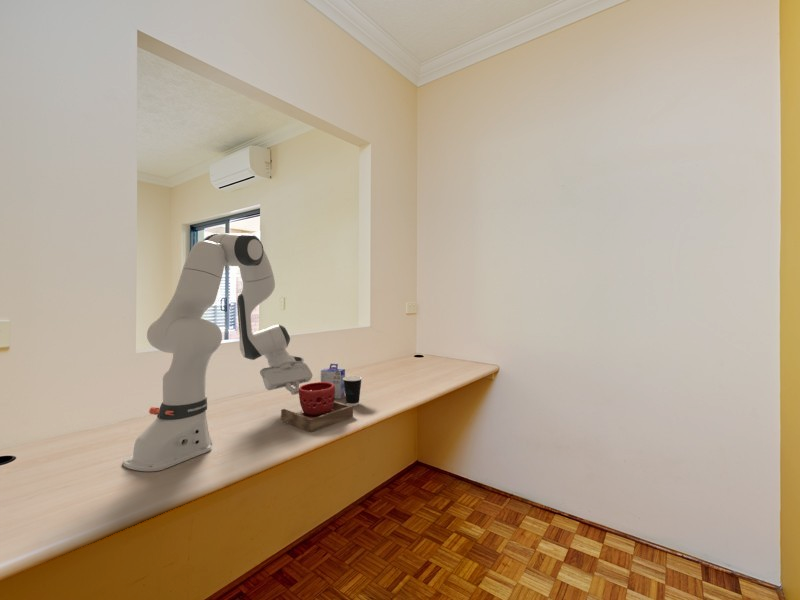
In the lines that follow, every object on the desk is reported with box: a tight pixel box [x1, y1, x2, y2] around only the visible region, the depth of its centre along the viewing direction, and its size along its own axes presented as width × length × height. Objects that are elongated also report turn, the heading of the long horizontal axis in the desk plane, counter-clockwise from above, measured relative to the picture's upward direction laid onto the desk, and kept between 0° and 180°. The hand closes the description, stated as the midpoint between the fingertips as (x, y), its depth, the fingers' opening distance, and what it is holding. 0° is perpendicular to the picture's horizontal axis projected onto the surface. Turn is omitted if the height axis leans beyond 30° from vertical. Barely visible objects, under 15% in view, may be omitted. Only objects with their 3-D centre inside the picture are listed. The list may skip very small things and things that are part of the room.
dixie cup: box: [343, 375, 363, 407], centre depth 154 cm, size 8×8×11 cm
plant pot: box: [298, 381, 336, 418], centre depth 137 cm, size 13×13×12 cm
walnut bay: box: [280, 400, 354, 433], centre depth 136 cm, size 17×19×4 cm
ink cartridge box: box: [320, 363, 346, 400], centre depth 164 cm, size 10×6×14 cm, turn 78°
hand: (296, 393), depth 144 cm, fingers closed
